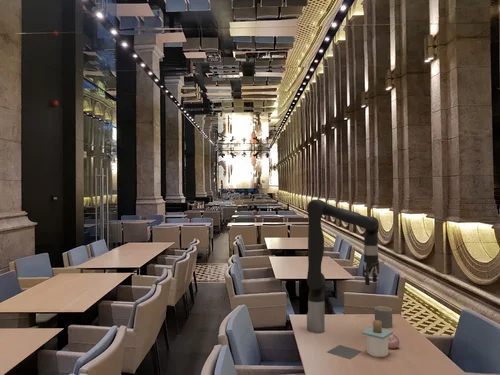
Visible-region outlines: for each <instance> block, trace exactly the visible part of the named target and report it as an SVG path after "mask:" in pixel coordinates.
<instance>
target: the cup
mask: <svg viewBox="0 0 500 375" xmlns="http://www.w3.org/2000/svg"><path fill="white" fill-rule="evenodd" d="M366 352H367V354H368V355H369V356H372V357H374V358H384V357H387V356H388V355H389V348H388V337H386V338H385V339H379V338H375V337H371V336H367V335H366Z"/></svg>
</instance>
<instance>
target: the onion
mask: <svg viewBox="0 0 500 375" xmlns="http://www.w3.org/2000/svg"><path fill="white" fill-rule="evenodd" d="M399 346H400V340H399V338H398V336H396V334H394V333H393V334H391V335H390V336H388V350H394V349H395V350H397V348H398V347H399Z"/></svg>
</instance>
